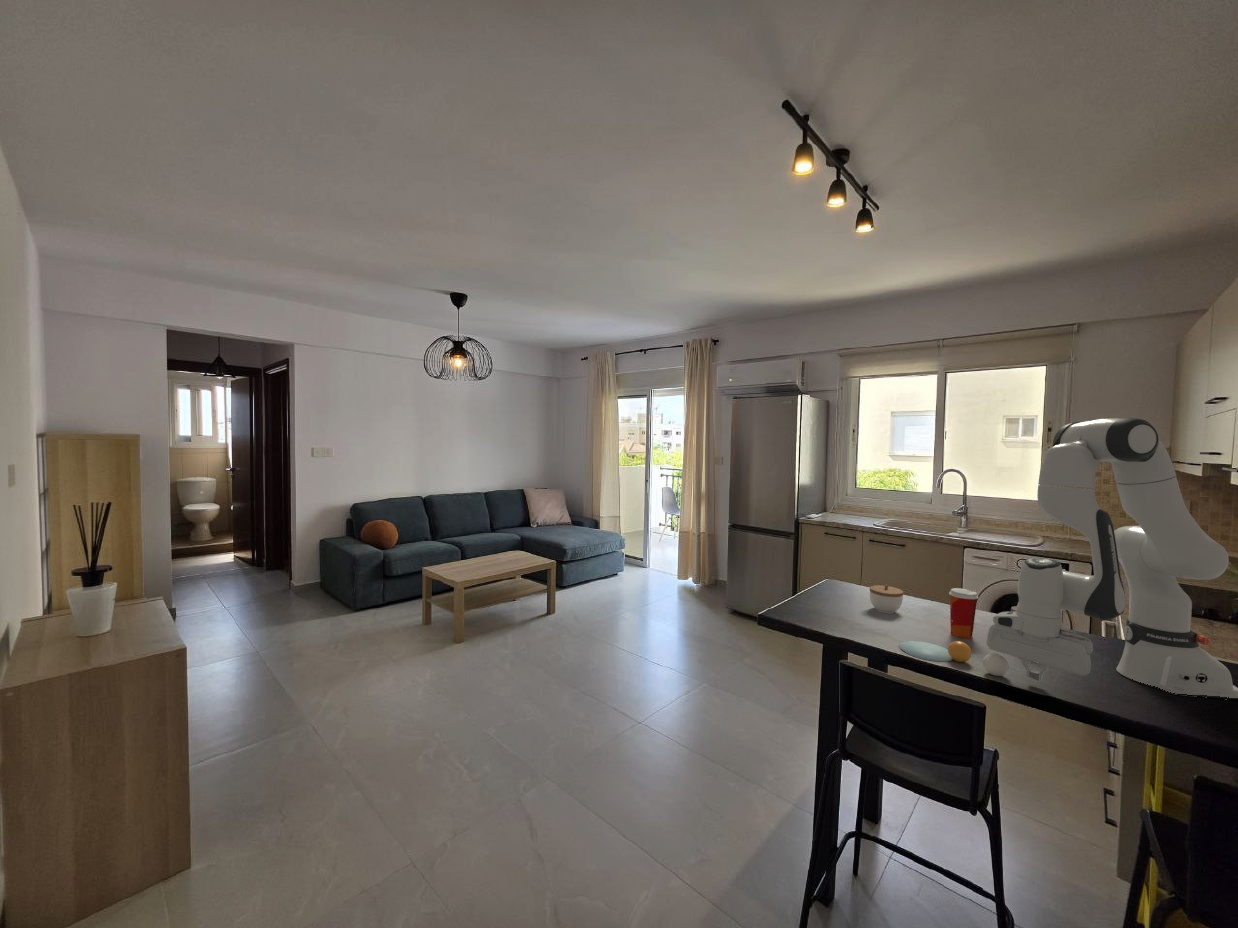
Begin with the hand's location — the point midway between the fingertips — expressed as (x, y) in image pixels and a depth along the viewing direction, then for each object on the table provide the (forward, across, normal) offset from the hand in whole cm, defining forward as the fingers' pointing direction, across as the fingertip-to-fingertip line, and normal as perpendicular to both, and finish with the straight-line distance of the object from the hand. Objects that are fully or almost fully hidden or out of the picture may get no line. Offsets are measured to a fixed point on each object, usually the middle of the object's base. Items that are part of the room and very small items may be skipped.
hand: (1034, 678), depth 130 cm
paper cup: (+2, +24, -23) cm, 34 cm away
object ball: (-1, +17, 0) cm, 17 cm away
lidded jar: (+2, +50, -27) cm, 56 cm away
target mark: (+2, +25, 0) cm, 25 cm away
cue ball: (-1, +8, +2) cm, 8 cm away
